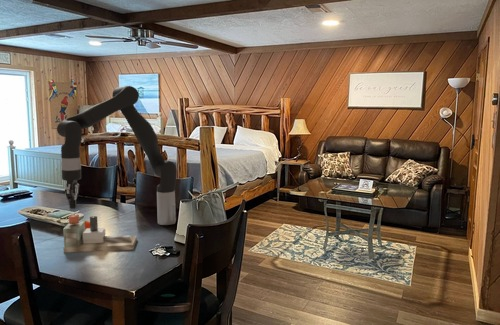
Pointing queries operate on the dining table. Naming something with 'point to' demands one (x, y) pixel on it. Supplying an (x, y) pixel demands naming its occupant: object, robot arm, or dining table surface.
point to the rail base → (76, 244)
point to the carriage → (93, 232)
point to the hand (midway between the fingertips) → (73, 208)
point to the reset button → (74, 219)
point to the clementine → (87, 224)
